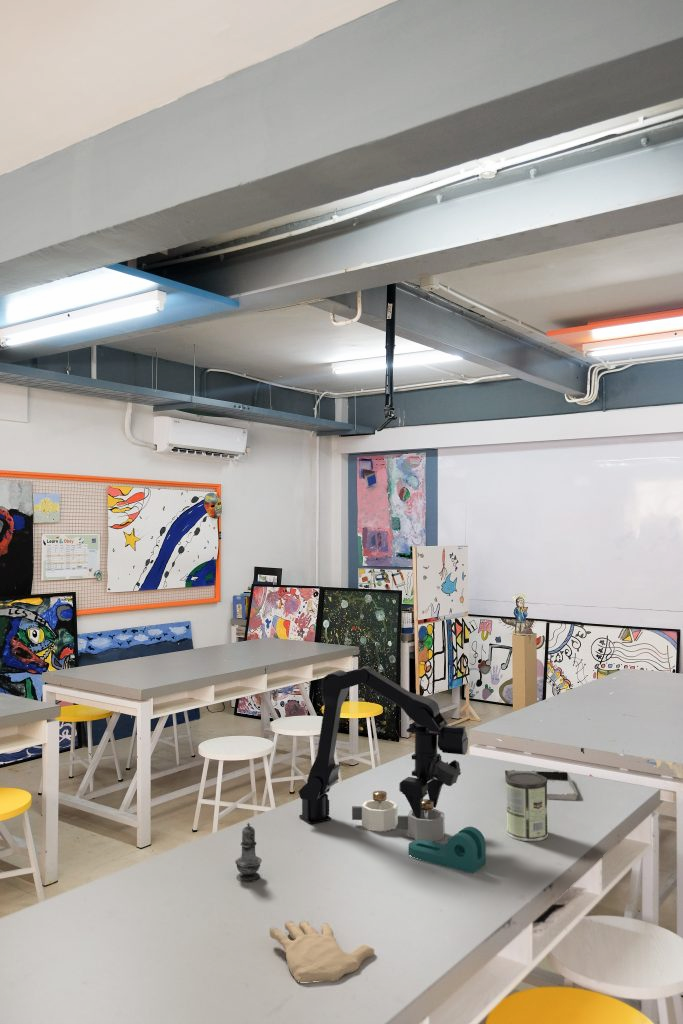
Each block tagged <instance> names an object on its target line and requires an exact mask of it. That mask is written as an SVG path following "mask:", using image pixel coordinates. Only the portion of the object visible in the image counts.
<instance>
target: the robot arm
mask: <svg viewBox="0 0 683 1024" xmlns="http://www.w3.org/2000/svg"><path fill="white" fill-rule="evenodd" d="M360 684H362V685H364V686H366V687H367V688H369V689H371V690H373V691H374V692H376V693H378V694H379V695H381V696H382V697H384V698H385V699H387V700H388V701H390V702H392V703H393V704H394V705H397V706H398V707H400V708H401V709H402V710H403V712H404V713H405V714H406V715H407V717H409V718H410V719H411V720H412V721H413V722H412V723H411V725H410V726H409V727H408V728H407V729H406V732H407V733H410V734H411V733H412V734H413V733H414V753H413V754H411V760H414V769H413V770H412V771H411V776H407V777H406V778H404V779H403V780H401V781H400V782H399V788H398V789H399V792H400V793H401V794H403V795H404V796H405V798H406V800H407V802H408V804H409V806H410V808H411V810H413V812H414V815H415V817H416V818H420V817H421V811H422V802H423V799H425V797H426V796H427V795H428V799H429V800H432V801H433V809H436V808H437V806H438V801H439V798H440V794H441V791H442V789H443V788H442V787H443V786H444V785H446V786H448V787H452V786H453V784H457V780H458V778H459V776H461V774H462V773H461V768H460V762H459V761H457V760H456V759H454V760H452V761H450V763H449V762H448V761H442V755H441V753H438V749H439V751H441V752H442V753H444V754H450V755H451V754H453V755H460V756H461V755H462V756H466V755H467V752H468V748H469V737H468V735H467V734H468V733H467V731H466V726H463V725H458V726H454V725H449V724H448V721H447V720H446V719H445V718H444V716H443V715H442V713H441V712H440V707H439V704H438V702H437V701H436V700H434V699H432V698H430V697H426V696H424V695H422V694H418V693H413V692H411V691H409V690H407V689H405V688H404V687H402V686H400V685H399V684H398V683H396V682H395V681H392V680H391V679H389V678H388V677H385V675H382V674H380V672H377V671H376V670H375V669H373V667H371V666H368V665H366V666H365V665H364V666H363V667H361V668H357V669H353V670H349V671H345V670H335V671H333V672H331V673H328V674H326V675H325V676H323V678H322V681H321V696H322V697H321V698H322V700H323V712H322V720H321V727H320V733H319V740H318V746H317V753H316V757H315V759H314V761H313V764H312V766H311V768H310V771H309V773H308V777H307V780H306V783H305V784H304V785H303V786H302V787H301V788H300V789H298V795H299V797H300V799H301V808H302V809H301V814H299V815H298V817H299V818H300V819H302V820H304V821H305V822H307V823H308V824H310V825H313V824H317V823H323V822H326V821H331V820H332V817H331V816H330V799H329V795H328V793H329V792H330V790H331V788H332V787H333V786H334V785H335V784H336V782H337V781H338V780H339V772H340V768H341V764H338V763H337V764H336V760H335V753H336V745H337V738H338V732H339V726H340V718H341V713H342V706H343V704H344V702H345V700H346V698H347V696H348V693H349V691H350V688H352V687H354V686H358V685H360ZM412 776H413V777H412Z"/></svg>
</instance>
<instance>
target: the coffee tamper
mask: <svg viewBox="0 0 683 1024" xmlns="http://www.w3.org/2000/svg"><path fill="white" fill-rule="evenodd" d="M432 809H434V808H433V801H432V800H429V798H428V799H427V798H423V802H422V810H424V819H428V810H432Z"/></svg>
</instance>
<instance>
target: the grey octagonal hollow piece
mask: <svg viewBox="0 0 683 1024" xmlns="http://www.w3.org/2000/svg"><path fill="white" fill-rule="evenodd" d="M445 827H446V826H445V812H443V811H442V810H441V811H440V810H438V809H436V808H433V809H432V810H428V819H424V810H422V811H421V817H420V818H416V817H415V815H414V812H413V810H412V809H411V810H409V811H408V814H407V815H398V824H397V830H399V831H400V830H401V831H403V830H405V831H407V836H408V835H409V836H410V837H409V836H408V837H409V838H411V837H412V838H414V839H415V840H414V839H413V840H414V841H416V840H427V841H431V842H437V841H440V840H444V837H445V834H446V833H445V832H446V831H445V829H446V828H445ZM412 838H411V839H412Z"/></svg>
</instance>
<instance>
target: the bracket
mask: <svg viewBox="0 0 683 1024" xmlns="http://www.w3.org/2000/svg"><path fill="white" fill-rule="evenodd" d="M486 846H487V845H486V839H485V836H484V835H483V833H482V832H481V830H479V829H478V828H476V827H473V826H466V827H464V828H462V829H460V830H459V831H458V832H457V833H455V834H453V835H452V836H451V837H449V839H447V842H446V844H443V843H440V842H437V841H433V842H431V841H427V840H413V841H412V840H411V842H409V843H408V856H409V855H411V856H412V857H415V858H418V859H421V860H420V861H422V860H424V861H423V862H426V861H428V862H427V863H430V862H431V863H430V864H435V865H439V866H442V867H443V866H444V867H445V868H446V867H447V868H451V869H455V870H457V871H458V870H459V871H463V872H466V873H470V874H474V873H476V872H477V871H478V870H479V869H480V868H482V867H483V866H484V865H485V864H486V863H487V862H486V861H487V860H486V859H487V858H486V857H487V856H486V851H487V850H486V848H487V847H486ZM412 857H411V858H412ZM418 859H417V860H418Z"/></svg>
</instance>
